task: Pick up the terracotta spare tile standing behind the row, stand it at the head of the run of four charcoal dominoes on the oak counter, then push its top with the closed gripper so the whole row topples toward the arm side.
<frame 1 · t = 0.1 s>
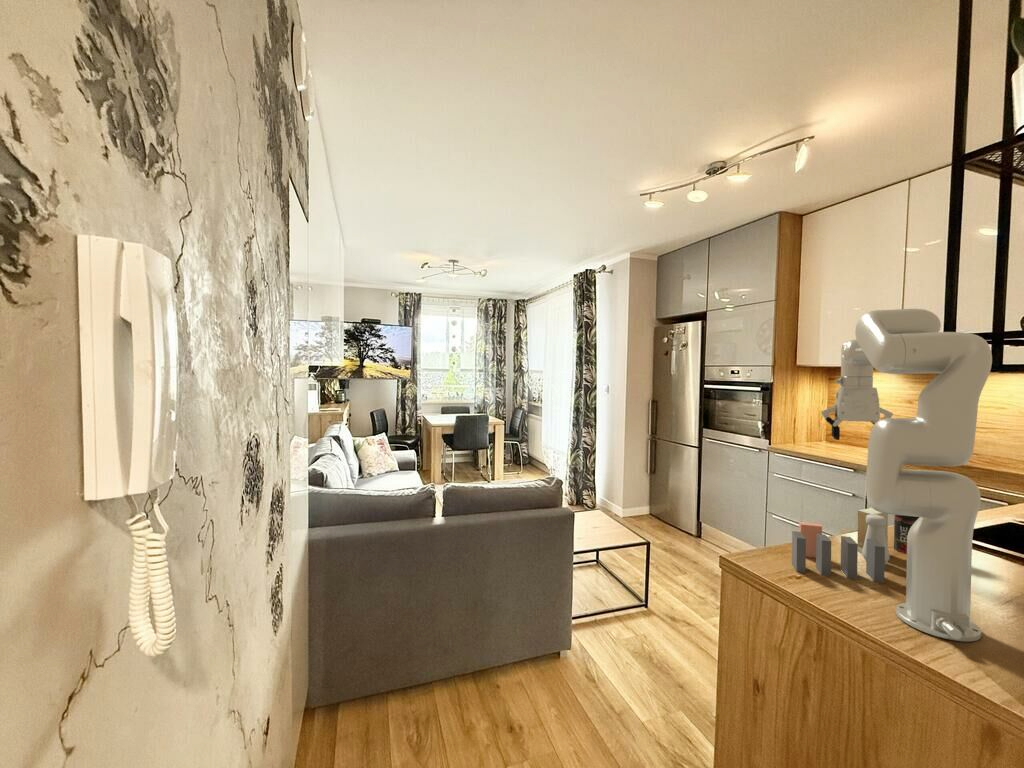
hand: (855, 440, 132), 31 cm above the countertop, fingers open, 9 cm apart
deodorant: (907, 551, 127), on the countertop
tile b: (823, 571, 115), on the countertop
salt shaker: (875, 564, 119), on the countertop
skincare box: (872, 553, 126), on the countertop
tile a: (798, 568, 117), on the countertop
tile c: (848, 574, 113), on the countertop
head tile: (810, 555, 124), on the countertop
tile d: (875, 578, 111), on the countertop
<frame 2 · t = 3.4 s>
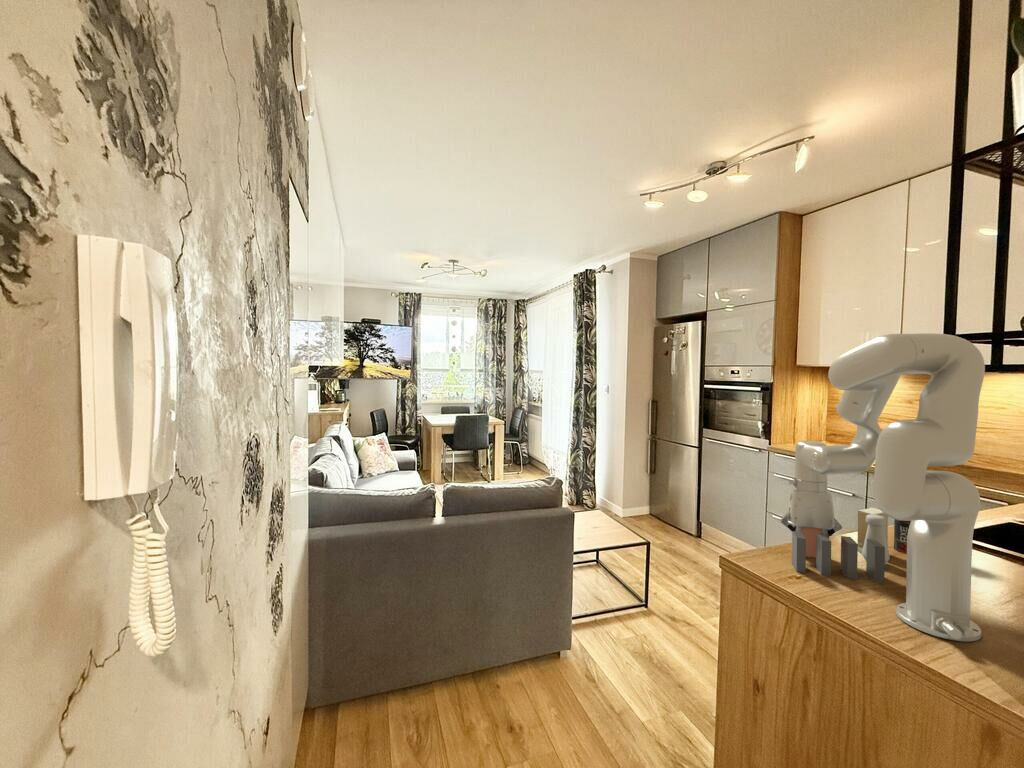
hand: (810, 549, 124), 2 cm above the countertop, fingers closed on head tile, 4 cm apart
head tile: (810, 555, 124), on the countertop, touching gripper
everything else where it was.
when the fingers open (3 cm above the countertop, at t = 9.1 s): head tile stays where it is, on the countertop.
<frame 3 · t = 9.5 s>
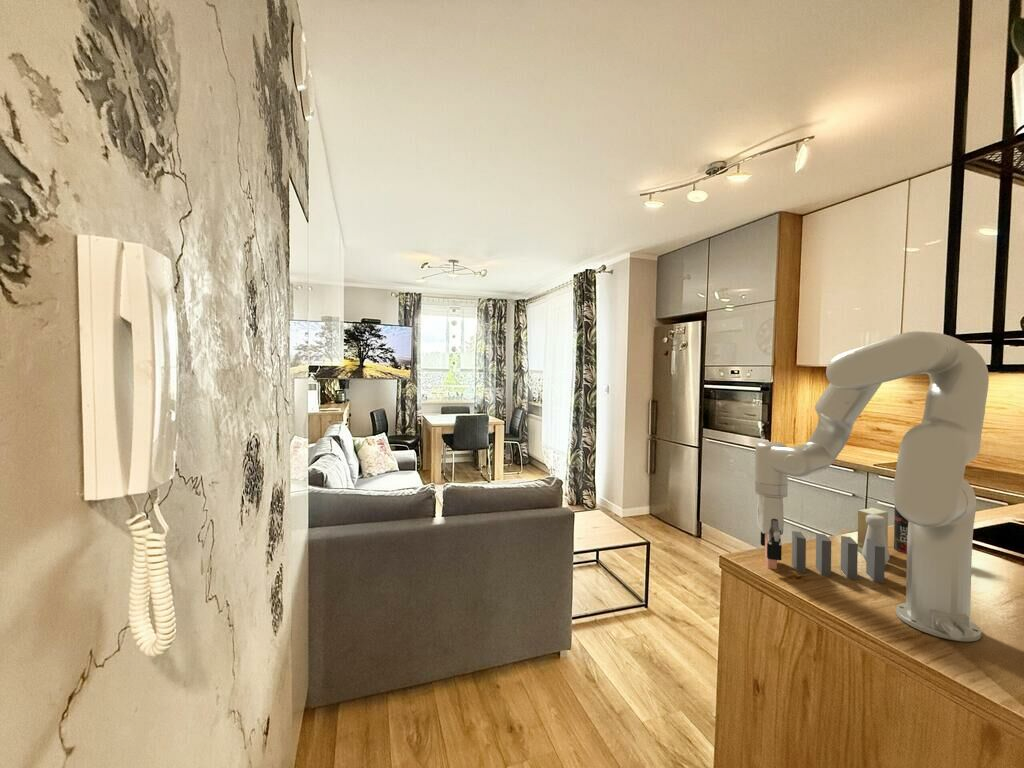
hand: (770, 552, 119), 3 cm above the countertop, fingers open, 8 cm apart
head tile: (770, 564, 119), on the countertop
everything else where it was.
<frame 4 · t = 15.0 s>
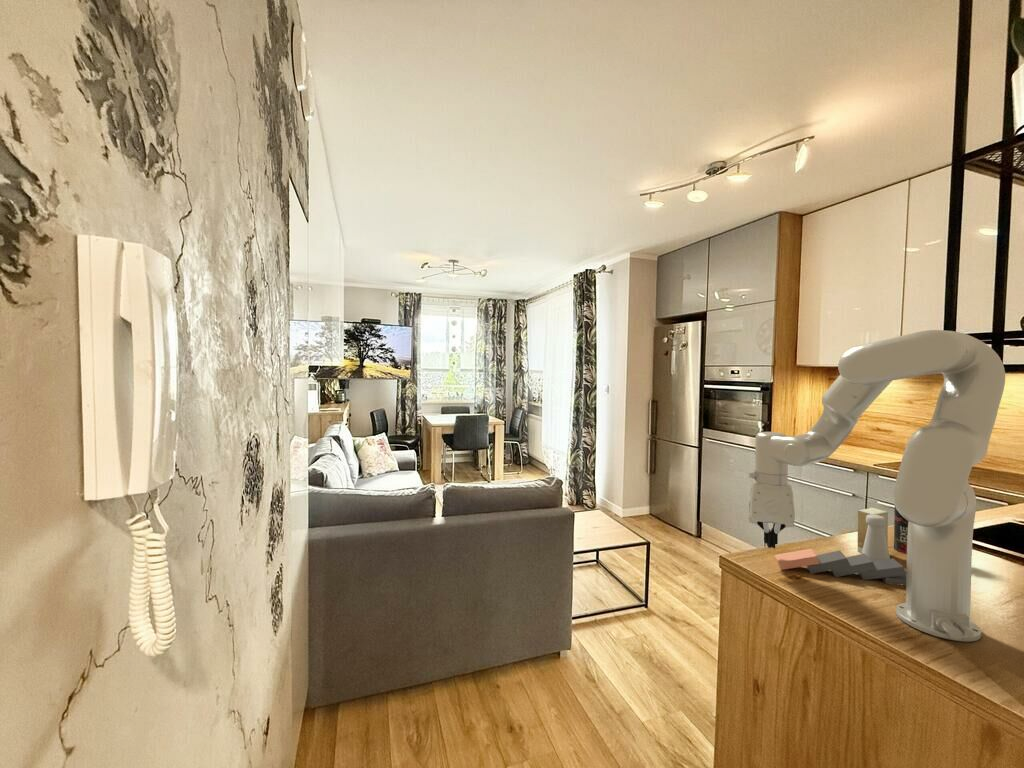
hand: (770, 546, 119), 5 cm above the countertop, fingers closed
tile b: (830, 569, 114), point 1 cm above the countertop, tilted 69°, touching tile a
tile a: (806, 566, 116), point 1 cm above the countertop, tilted 68°, touching head tile, tile b
tile c: (857, 571, 112), point 1 cm above the countertop, tilted 74°, touching tile d
head tile: (777, 562, 118), point 1 cm above the countertop, tilted 71°, touching tile a
tile d: (881, 577, 111), on the countertop, tilted 90°, touching tile c
everything else where it was.
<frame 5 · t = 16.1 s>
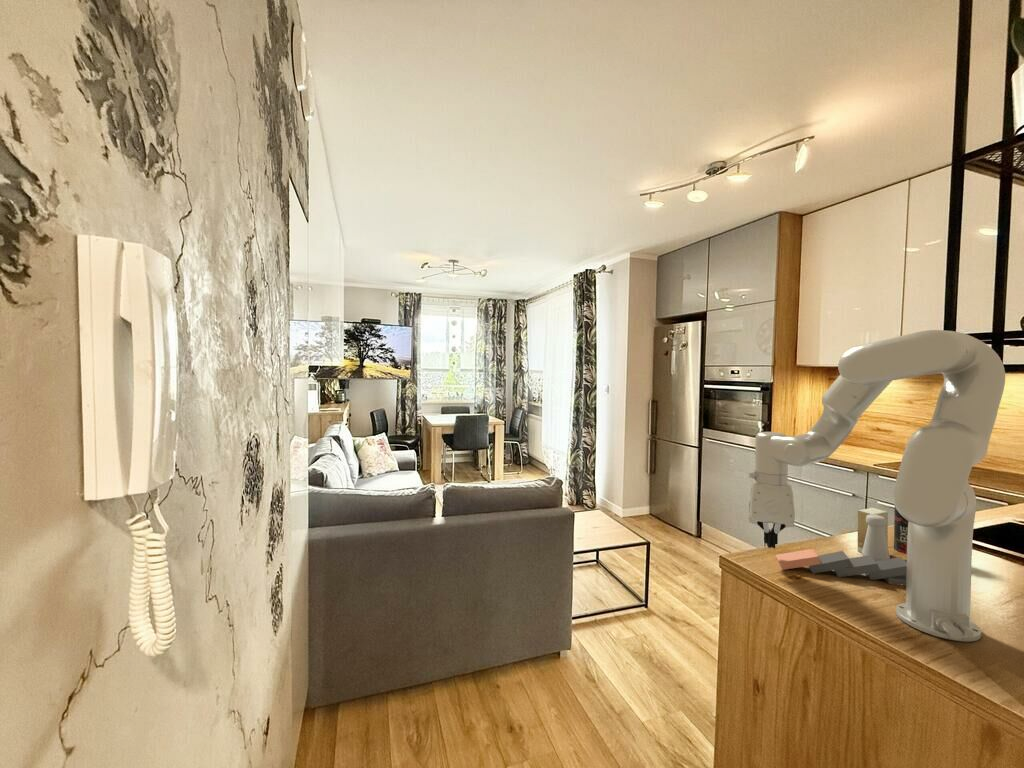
hand: (770, 546, 119), 5 cm above the countertop, fingers closed
tile b: (833, 569, 114), point 1 cm above the countertop, tilted 71°, touching tile a, tile c
tile c: (865, 571, 112), point 1 cm above the countertop, tilted 71°, touching tile b, tile d
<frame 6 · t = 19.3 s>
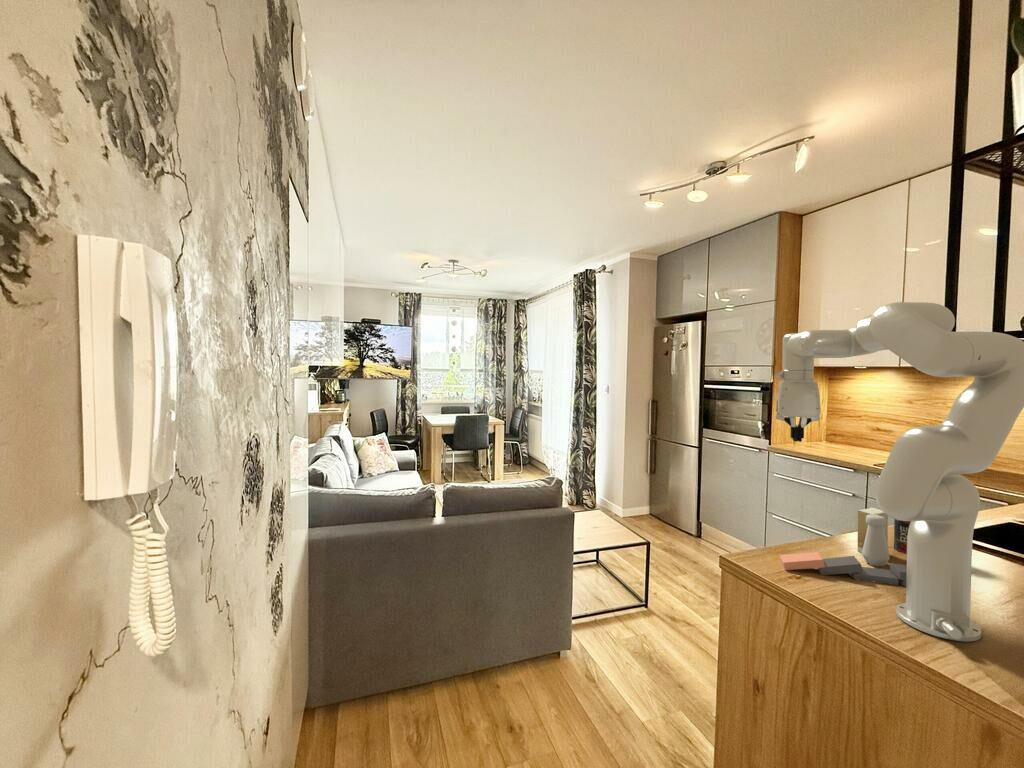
hand: (797, 440, 126), 32 cm above the countertop, fingers closed
tile b: (850, 572, 113), on the countertop, tilted 90°
tile a: (817, 567, 115), point 1 cm above the countertop, tilted 75°, touching head tile
tile c: (894, 571, 109), point 2 cm above the countertop, tilted 90°, touching tile d
tile d: (898, 579, 109), on the countertop, tilted 90°, touching tile c
at the end: tile d tilted 90°; head tile tilted 75°; tile d inside the target area (0.4 cm from its centre), on the countertop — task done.
